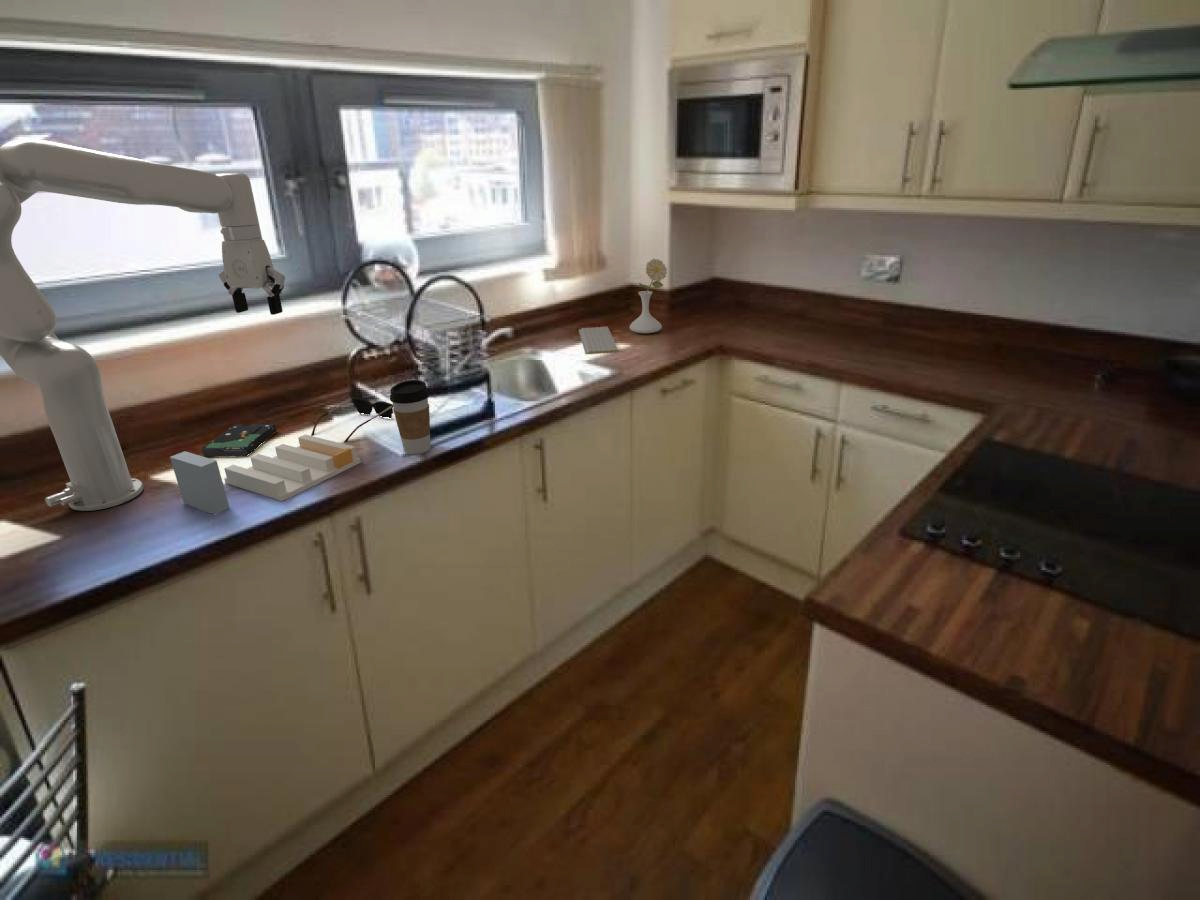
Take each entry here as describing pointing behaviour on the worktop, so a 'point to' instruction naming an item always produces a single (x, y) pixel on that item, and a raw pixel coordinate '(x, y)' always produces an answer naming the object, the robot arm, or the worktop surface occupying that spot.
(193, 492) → the panel
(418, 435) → the coffee cup
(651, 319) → the flower in vase
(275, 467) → the rack
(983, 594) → the worktop surface
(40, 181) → the robot arm
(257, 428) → the disk drive
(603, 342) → the baseboard
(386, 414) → the sunglasses
